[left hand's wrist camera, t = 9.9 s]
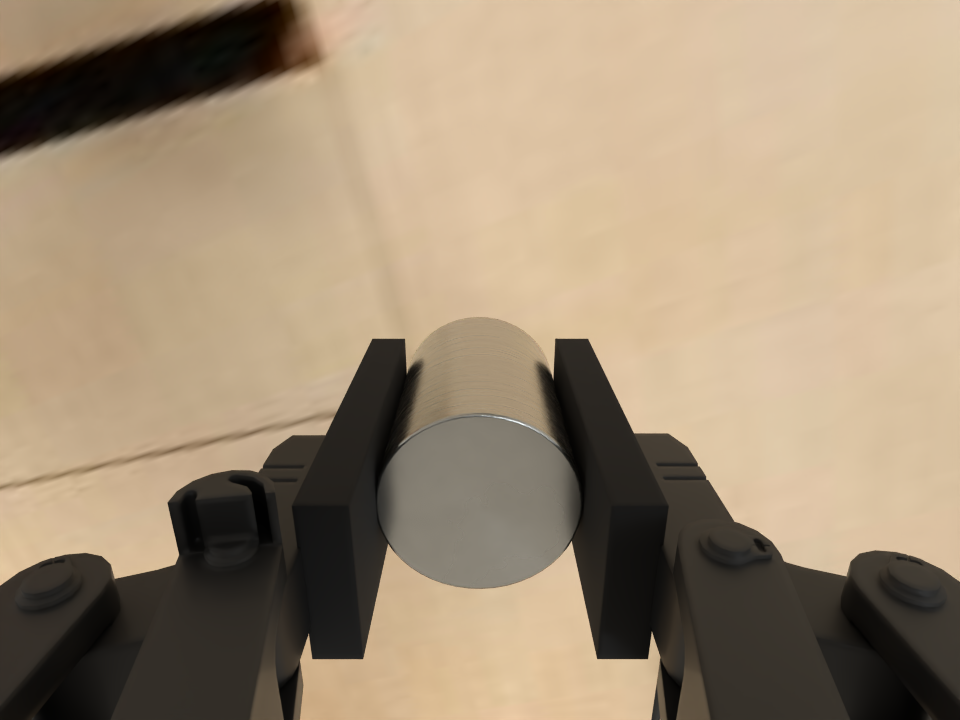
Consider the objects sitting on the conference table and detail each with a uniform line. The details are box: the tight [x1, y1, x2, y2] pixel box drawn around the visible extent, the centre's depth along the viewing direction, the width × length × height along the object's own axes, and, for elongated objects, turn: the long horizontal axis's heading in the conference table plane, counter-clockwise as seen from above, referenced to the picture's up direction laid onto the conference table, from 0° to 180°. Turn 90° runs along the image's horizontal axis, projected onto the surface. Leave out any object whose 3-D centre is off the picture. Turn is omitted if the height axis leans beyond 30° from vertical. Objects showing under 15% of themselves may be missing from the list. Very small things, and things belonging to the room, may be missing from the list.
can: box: [376, 317, 583, 589], centre depth 12 cm, size 4×4×5 cm
